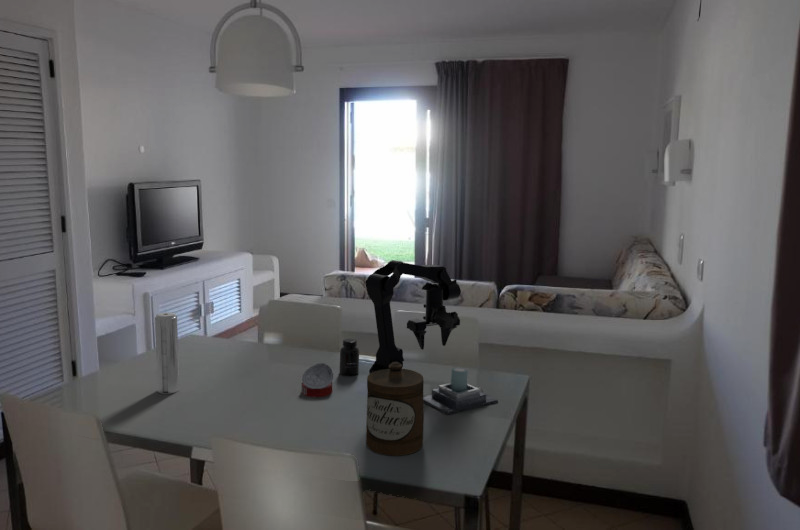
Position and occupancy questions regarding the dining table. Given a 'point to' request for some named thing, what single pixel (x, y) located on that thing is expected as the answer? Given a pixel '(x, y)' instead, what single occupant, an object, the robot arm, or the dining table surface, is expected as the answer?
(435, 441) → the dining table surface
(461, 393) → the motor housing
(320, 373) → the canned food
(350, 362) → the supplement bottle
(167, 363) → the silver metal cylinder
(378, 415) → the wooden container
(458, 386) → the cylinder
